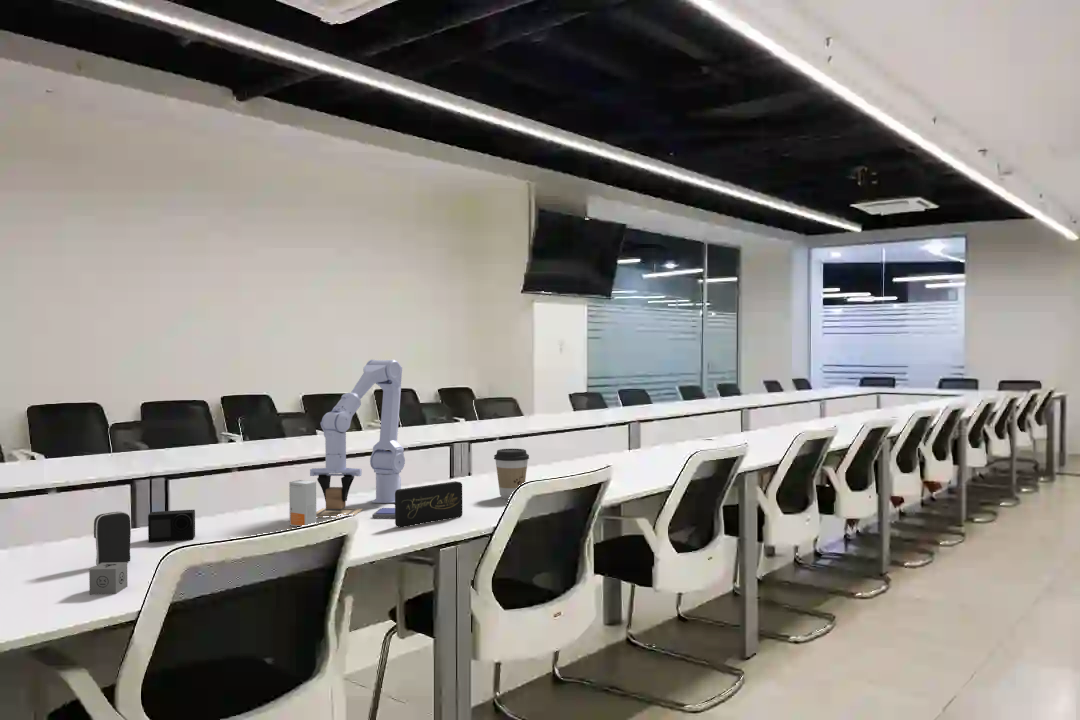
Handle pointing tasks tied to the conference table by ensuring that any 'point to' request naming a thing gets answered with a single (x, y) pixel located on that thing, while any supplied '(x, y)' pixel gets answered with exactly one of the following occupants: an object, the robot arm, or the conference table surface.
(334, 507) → the block
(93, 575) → the dice cube
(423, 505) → the nameplate
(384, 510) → the ink pad
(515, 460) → the coffee cup
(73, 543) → the conference table surface
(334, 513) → the print card
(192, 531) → the digital camera
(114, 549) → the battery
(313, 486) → the skincare box
